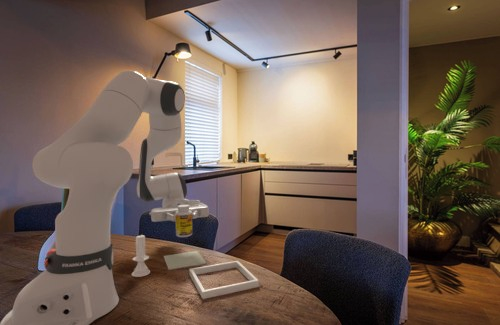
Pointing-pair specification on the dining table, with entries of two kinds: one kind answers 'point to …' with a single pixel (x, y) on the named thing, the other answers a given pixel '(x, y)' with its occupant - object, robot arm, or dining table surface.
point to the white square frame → (223, 290)
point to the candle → (140, 258)
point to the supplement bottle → (183, 221)
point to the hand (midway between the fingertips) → (184, 217)
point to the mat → (183, 260)
